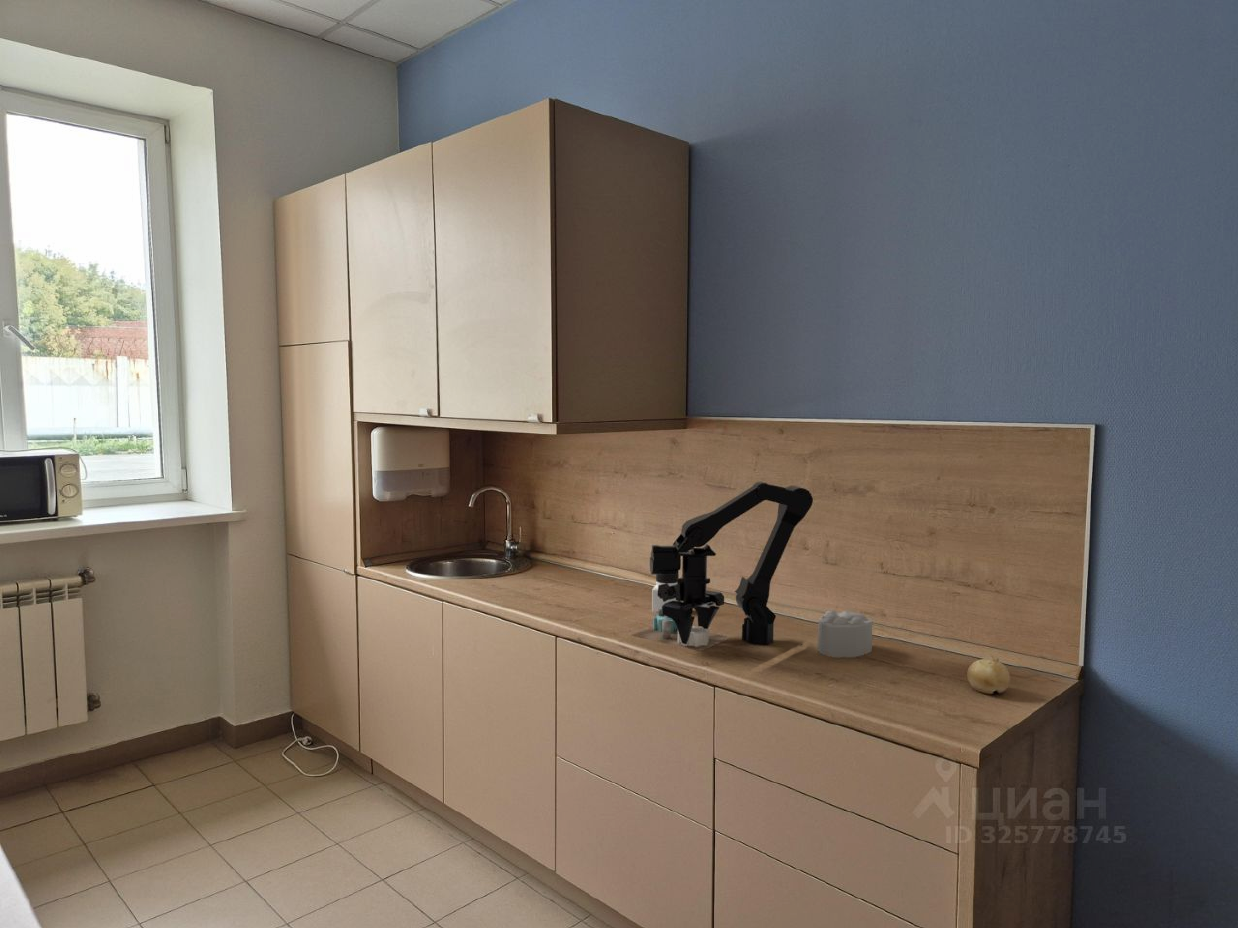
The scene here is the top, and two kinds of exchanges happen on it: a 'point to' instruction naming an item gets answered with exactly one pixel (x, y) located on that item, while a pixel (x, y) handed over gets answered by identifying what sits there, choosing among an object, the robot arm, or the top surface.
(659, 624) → the teal gear
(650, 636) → the gear board
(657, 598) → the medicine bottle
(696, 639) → the off-white gear
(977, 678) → the onion
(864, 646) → the lumpy-topped squat cylinder
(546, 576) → the top surface
